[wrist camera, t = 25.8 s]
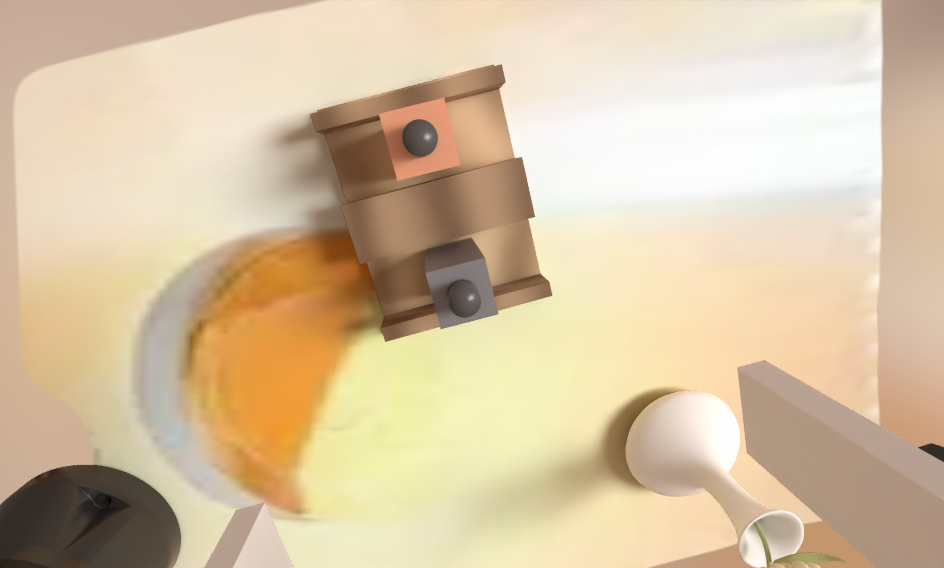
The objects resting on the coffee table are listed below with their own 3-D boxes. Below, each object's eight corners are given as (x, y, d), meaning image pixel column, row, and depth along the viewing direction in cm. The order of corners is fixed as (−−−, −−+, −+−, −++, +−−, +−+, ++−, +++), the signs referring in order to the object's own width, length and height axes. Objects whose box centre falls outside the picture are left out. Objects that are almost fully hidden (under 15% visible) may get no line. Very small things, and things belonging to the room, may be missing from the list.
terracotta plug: (404, 177, 37) (395, 181, 26) (390, 126, 36) (375, 109, 25) (452, 165, 37) (462, 164, 27) (439, 114, 36) (445, 92, 26)
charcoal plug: (437, 293, 40) (441, 339, 29) (425, 249, 39) (425, 280, 28) (482, 282, 40) (503, 323, 29) (471, 237, 39) (489, 263, 28)
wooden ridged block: (391, 331, 41) (387, 348, 37) (320, 111, 36) (307, 105, 32) (541, 289, 42) (553, 302, 38) (491, 67, 37) (499, 55, 33)
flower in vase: (720, 368, 45) (1054, 597, 21) (732, 464, 48) (1038, 761, 24) (593, 405, 45) (786, 681, 21) (613, 500, 48) (803, 836, 24)
